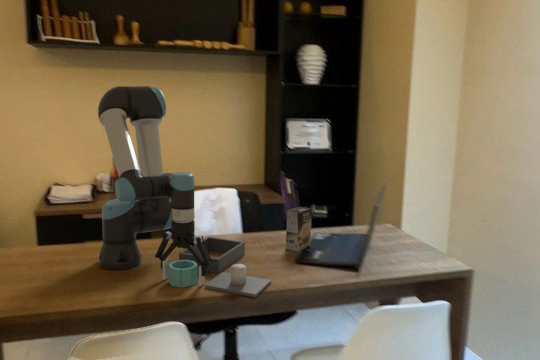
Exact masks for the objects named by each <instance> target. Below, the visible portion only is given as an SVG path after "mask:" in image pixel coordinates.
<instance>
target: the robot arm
mask: <svg viewBox="0 0 540 360" xmlns="http://www.w3.org/2000/svg"><path fill="white" fill-rule="evenodd" d="M166 113H167V103H166V98H165V96H164V94H163V91H162V90H161V89H160V88H159V87H156V86H148V85H145V86H144V85H143V86H141V85H140V86H137V85H136V86H135V85H134V86H129V85H128V86H124V85H117V86H115V87H112V88H110V89H108V90H107V91H106V92H105V93H104V94H103V95H102V96H101V99H100V101H99V103H98V106H97V115H98V120H99V122H100V124H101V125H102V126H103V127H104V130H105V133H106V136H107V140H108V144H109V148H110V151H111V155H112V158H113V161H114V164H115V168H116V169H115V170H116V172H117V175H118V178H117V179H115V181H114V190H115V191H114V192H115V193H114V194H115V197H116V198H114V199H111V200H108V201H106V202H105V203H104V204H103V205H102V207H101V224H102V225H101V227H102V246H101V248H100V249H101V250H100V252H99V256H98V266H99V267H100V268H103V269H104V270H105V269H106V270H112V271H113V270H114V271H115V270H116V271H117V270H121V271H122V270H129V269H131V268H135V267H138V266H139V265H141V263H142V262H143V258H142V257H143V256H142V253H141V251H140V248H139V245H138V242H137V234H141V233H149V232H156V231H157V232H159V231H164V230H168V231H165V232H163V235H162V240H161V242H160V245H159V247H158V249H157V250H156V253H155V255H154V257H155V259H159V261H160V269H161V270H162V280H163V281H166V280H167V279H169V264H170V259H169V258H168V257H169V256H170V255H171V253H172V252H173V251H174V250H175V249H176V248H179V249H184V250H185V249H188V250H189V251H191V253H192V254H193V256H194V257H195V258H196V260H197V261H198V263H199V264H200V265H201V266H200V267H199V270H198V286H199V287H202V286H205V285H206V284H205V283H206V276H207V275H208V271H207V266H209V265H211V264H212V263H213V262H212V260H211V257H212V256H211V255H210V253H209V250H208V251H207V248H206V246H205V244H204V239H205V238H204V236H203V235H199V236H195V235H196V234H195V231H196V230H195V226H196V225H195V220H194V219H196V218H195V186H196V185H195V178H194V174H193V173H191V172H186V171H183V172H182V171H181V172H180V171H177V172H174V173H172V172H164V166H163V158H162V148H161V147H162V146H161V139H160V130H159V129H160V127H159V126H160V124H161V123H162V122H163V118H164V117H166ZM127 119H129V122H130V125H131V126H132V127H133V128H134V129H135V139H136V149H137V153H136V149H135V146H134V144H133V140H132V136H131V134H130V130H129V128H128V124H127ZM169 229H171V231H169ZM170 239H171V240H172V243H171V244H170V245H169V247H167V246H168V243H169V242H170ZM196 243H197V246H198V248H199V250H198V249H197V246H196ZM191 246H192V247H191ZM166 248H167V249H166Z"/></svg>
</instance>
